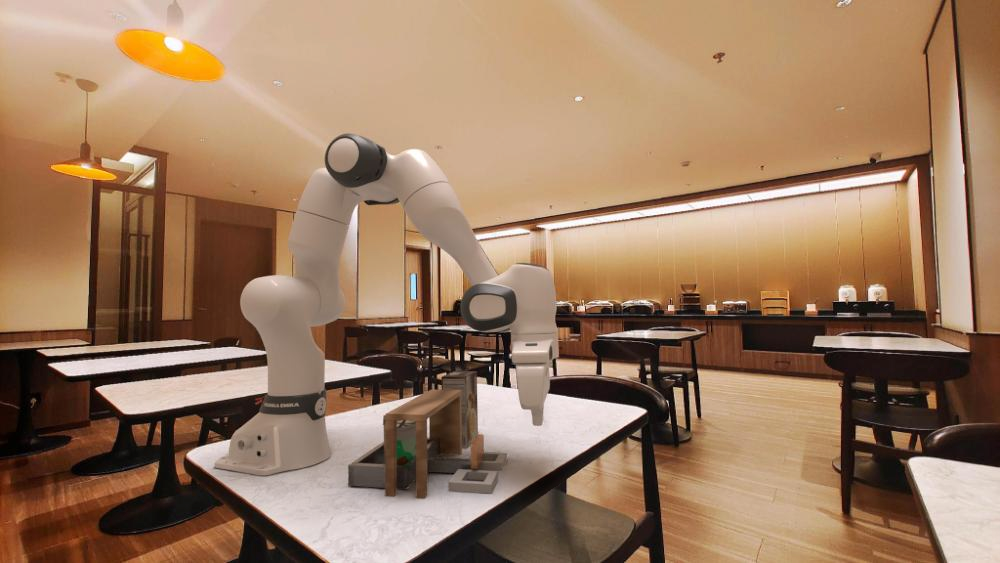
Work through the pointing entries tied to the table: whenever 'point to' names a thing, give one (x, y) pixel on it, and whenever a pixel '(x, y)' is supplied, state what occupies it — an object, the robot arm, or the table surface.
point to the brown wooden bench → (424, 433)
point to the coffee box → (465, 401)
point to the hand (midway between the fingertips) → (538, 423)
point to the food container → (404, 440)
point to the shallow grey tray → (410, 465)
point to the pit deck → (479, 475)
